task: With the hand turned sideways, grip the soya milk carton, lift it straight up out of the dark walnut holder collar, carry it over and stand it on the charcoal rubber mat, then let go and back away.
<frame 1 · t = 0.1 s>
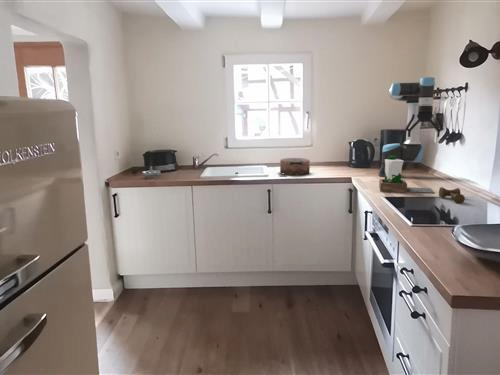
hand: (422, 142, 224), 28 cm above the countertop, tool pointing down, fingers open, 13 cm apart
soya milk: (392, 190, 230), resting in holder collar
holder collar: (392, 189, 230), on the countertop
kendama: (451, 200, 204), on the countertop
wicker basket: (294, 173, 296), on the countertop
rubber mat: (420, 190, 226), on the countertop
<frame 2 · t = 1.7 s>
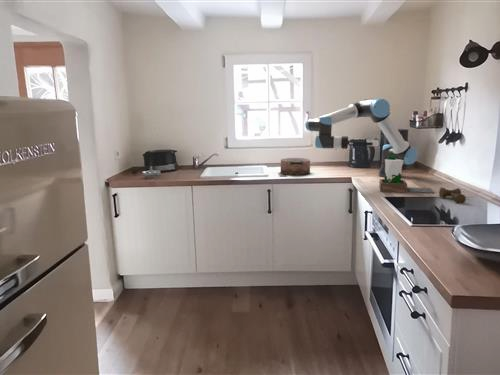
hand: (378, 143, 227), 28 cm above the countertop, tool horizontal, fingers open, 13 cm apart
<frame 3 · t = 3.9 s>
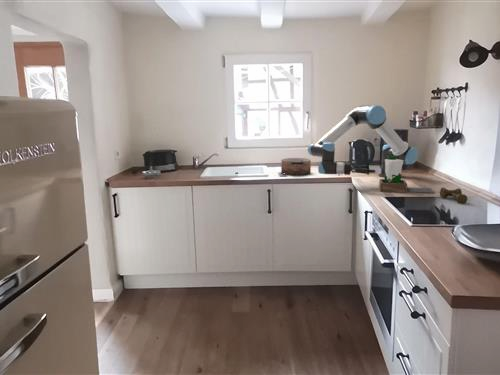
hand: (380, 169, 230), 12 cm above the countertop, tool horizontal, fingers open, 13 cm apart
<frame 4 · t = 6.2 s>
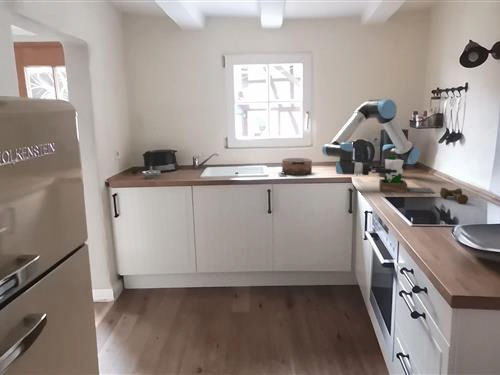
hand: (401, 170, 227), 12 cm above the countertop, tool horizontal, fingers closed on soya milk, 9 cm apart
soya milk: (392, 189, 230), resting in holder collar, touching gripper
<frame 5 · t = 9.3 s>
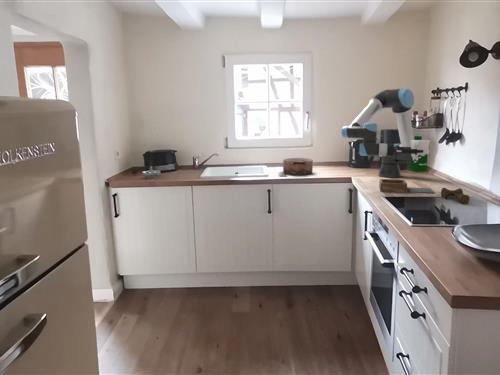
hand: (428, 150, 220), 24 cm above the countertop, tool horizontal, fingers closed on soya milk, 9 cm apart
soya milk: (418, 171, 224), point 12 cm above the countertop, touching gripper
when the fingers open (14 cm above the countertop, at t = 12.4 s): soya milk drops 1 cm, resting on rubber mat.
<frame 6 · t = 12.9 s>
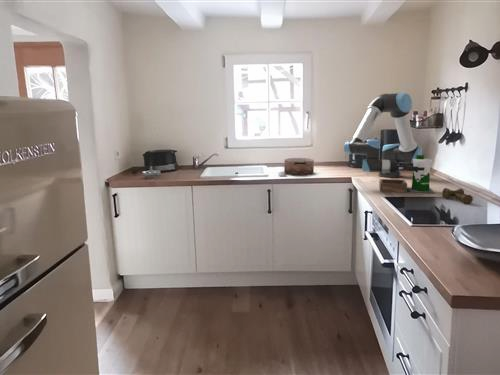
hand: (428, 167, 222), 14 cm above the countertop, tool horizontal, fingers open, 13 cm apart
soya milk: (420, 190, 226), resting on rubber mat
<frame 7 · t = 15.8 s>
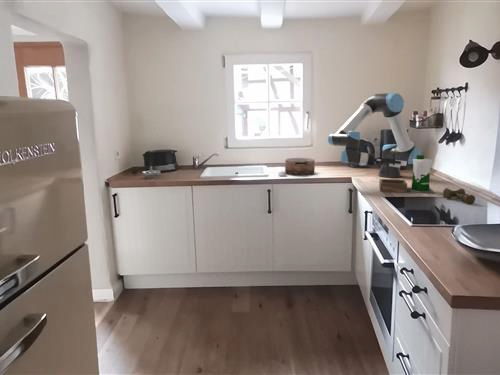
hand: (403, 164, 229), 15 cm above the countertop, tool horizontal, fingers open, 13 cm apart
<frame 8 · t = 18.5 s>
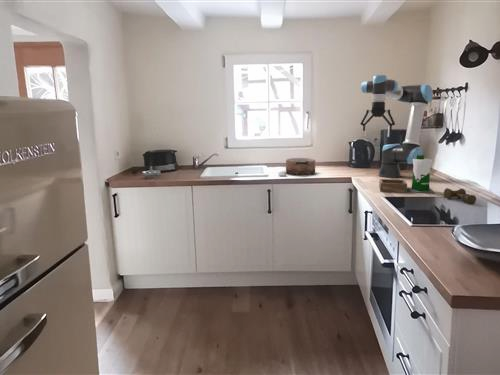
hand: (376, 136, 238), 31 cm above the countertop, tool pointing down, fingers open, 13 cm apart
at the end: soya milk inside the target area on the rubber mat (0.0 cm from its centre), point 0.4 cm above the rubber mat's base; soya milk tilted 0°; the gripper is holding nothing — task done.
